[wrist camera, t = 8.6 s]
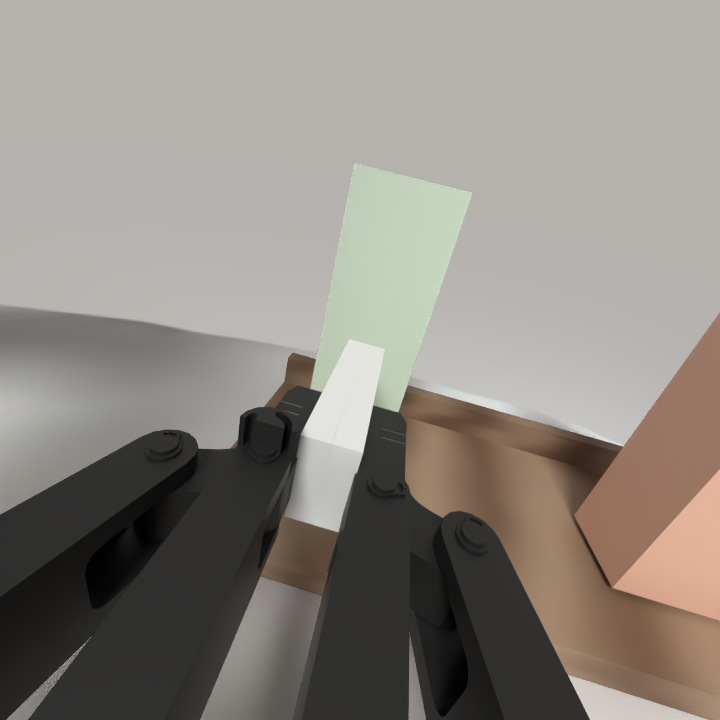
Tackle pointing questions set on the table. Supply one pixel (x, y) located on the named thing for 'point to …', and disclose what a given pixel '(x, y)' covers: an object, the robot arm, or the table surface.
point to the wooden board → (531, 543)
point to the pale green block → (388, 273)
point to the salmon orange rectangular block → (666, 494)
